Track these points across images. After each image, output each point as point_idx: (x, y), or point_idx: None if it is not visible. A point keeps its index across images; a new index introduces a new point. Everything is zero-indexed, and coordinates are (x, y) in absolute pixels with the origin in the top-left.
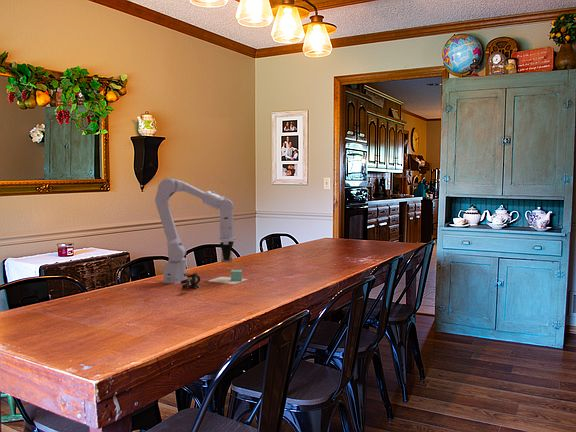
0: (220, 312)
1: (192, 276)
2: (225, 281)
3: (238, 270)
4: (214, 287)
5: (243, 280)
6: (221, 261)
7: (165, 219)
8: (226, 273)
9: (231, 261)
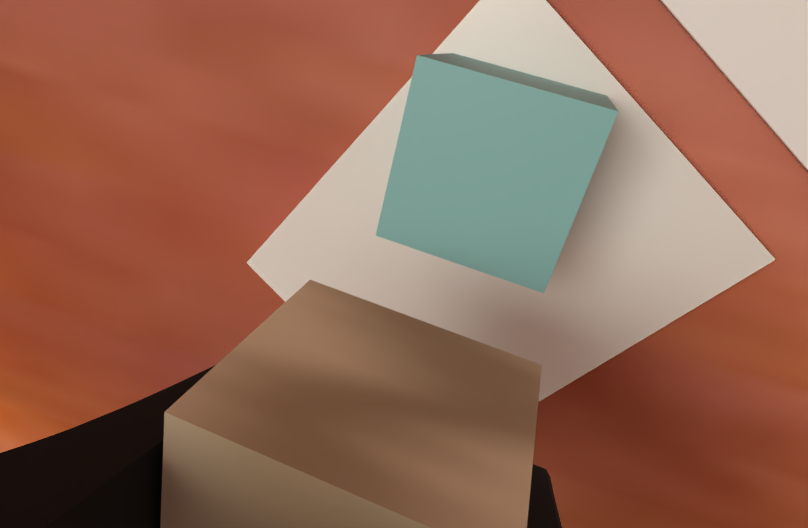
0: None
1: None
2: (545, 308)
3: (467, 137)
4: (746, 479)
5: (579, 57)
6: None
7: None
8: (33, 137)
9: (535, 389)
